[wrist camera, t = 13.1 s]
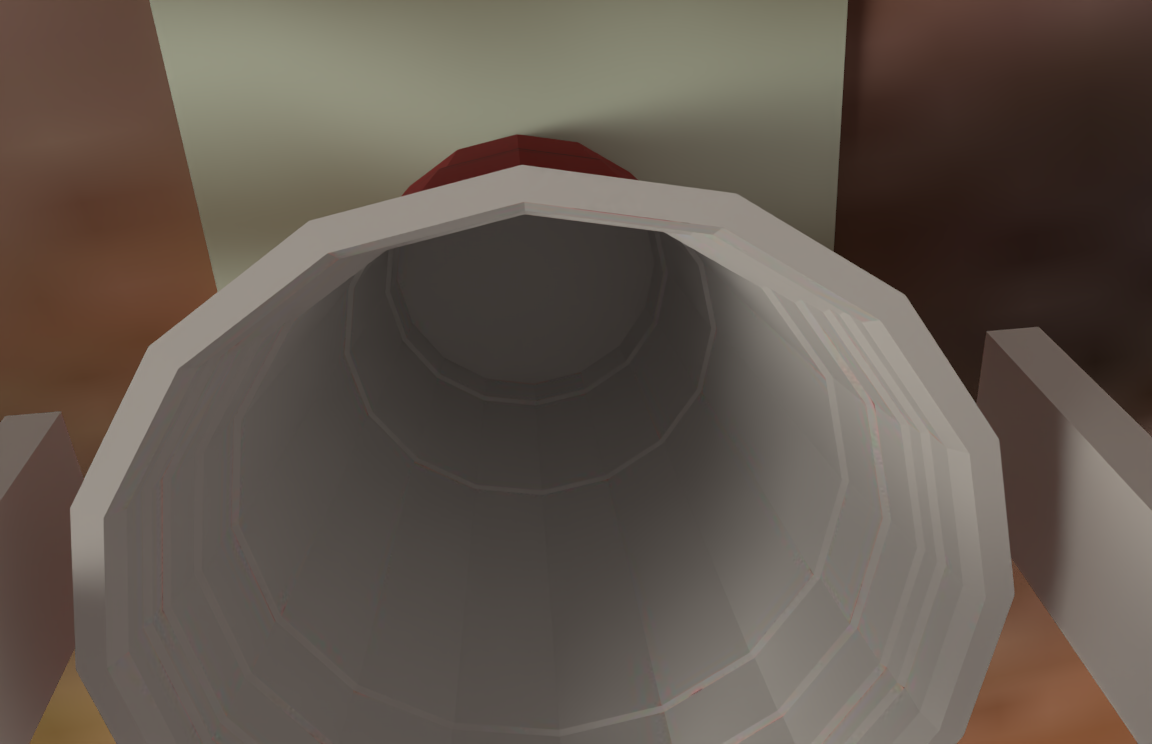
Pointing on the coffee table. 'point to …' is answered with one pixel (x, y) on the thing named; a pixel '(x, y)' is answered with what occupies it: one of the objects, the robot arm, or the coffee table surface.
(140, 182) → the coffee table surface
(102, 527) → the plastic cup
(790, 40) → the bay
